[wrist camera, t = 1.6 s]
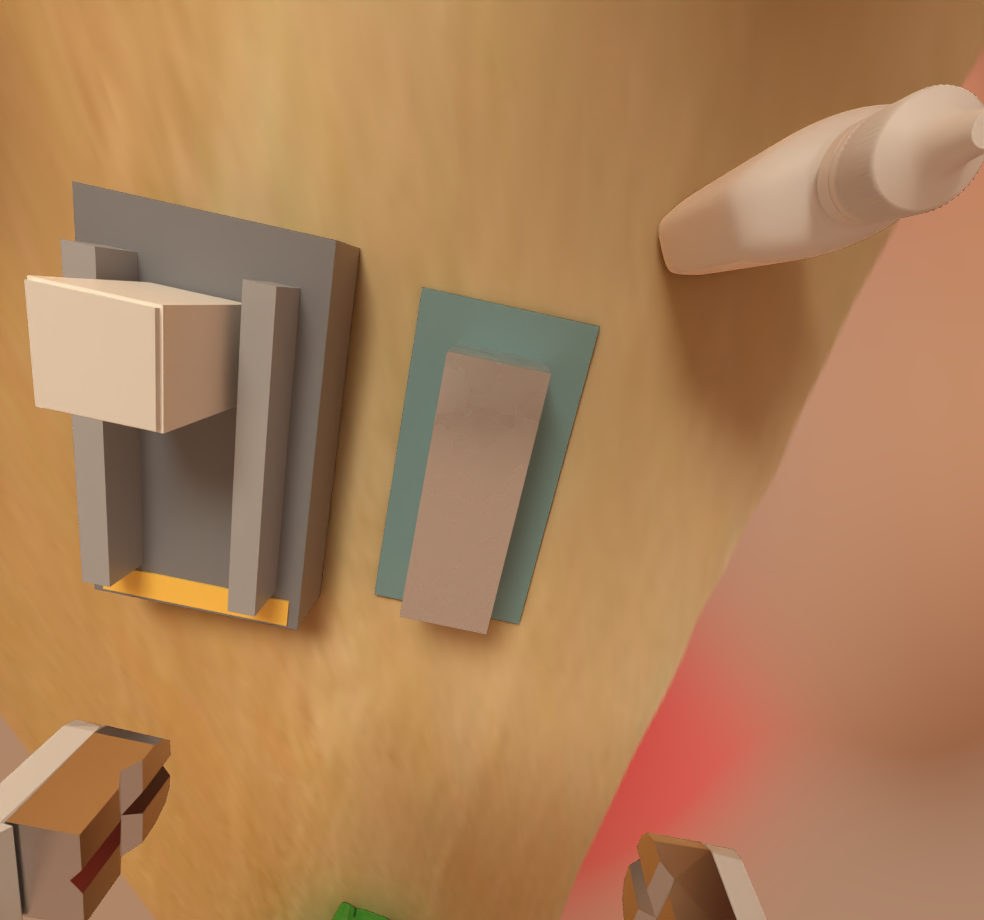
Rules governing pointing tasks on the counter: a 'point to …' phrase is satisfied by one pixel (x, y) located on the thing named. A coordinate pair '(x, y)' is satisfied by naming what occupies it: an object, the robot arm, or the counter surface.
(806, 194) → the eye dropper bottle
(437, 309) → the mat
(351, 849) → the counter surface
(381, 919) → the fruit basket
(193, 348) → the switch tab
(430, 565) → the bar
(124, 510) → the switch panel
